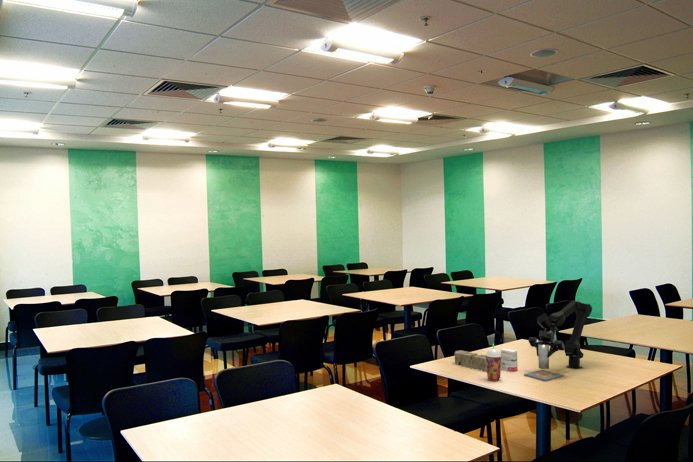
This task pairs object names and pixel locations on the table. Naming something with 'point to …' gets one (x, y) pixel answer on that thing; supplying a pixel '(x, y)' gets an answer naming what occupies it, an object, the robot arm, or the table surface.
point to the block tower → (470, 360)
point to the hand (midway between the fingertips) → (542, 356)
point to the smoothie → (493, 364)
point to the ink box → (509, 360)
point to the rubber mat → (543, 375)
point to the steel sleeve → (543, 356)
